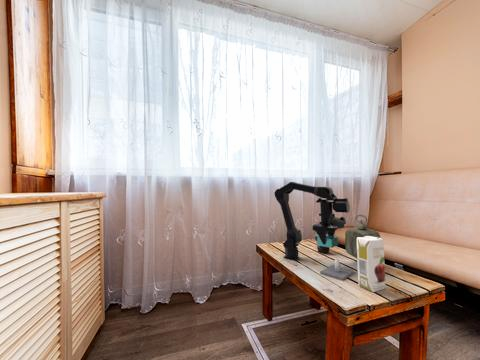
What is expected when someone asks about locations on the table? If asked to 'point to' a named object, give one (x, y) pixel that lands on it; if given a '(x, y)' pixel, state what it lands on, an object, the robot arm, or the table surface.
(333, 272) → the station
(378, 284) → the juice carton
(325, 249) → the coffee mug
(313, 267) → the table surface
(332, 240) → the teal square ring
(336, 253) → the table surface
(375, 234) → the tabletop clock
